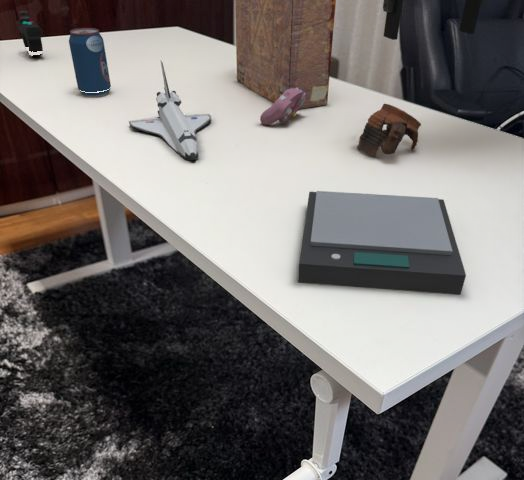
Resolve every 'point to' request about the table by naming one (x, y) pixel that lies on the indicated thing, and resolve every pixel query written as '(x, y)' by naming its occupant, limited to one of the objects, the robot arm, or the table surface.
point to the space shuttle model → (174, 123)
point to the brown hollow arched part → (388, 130)
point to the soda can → (89, 61)
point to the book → (285, 47)
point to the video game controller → (284, 107)
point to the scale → (380, 243)
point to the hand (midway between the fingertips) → (429, 35)
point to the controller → (30, 33)
